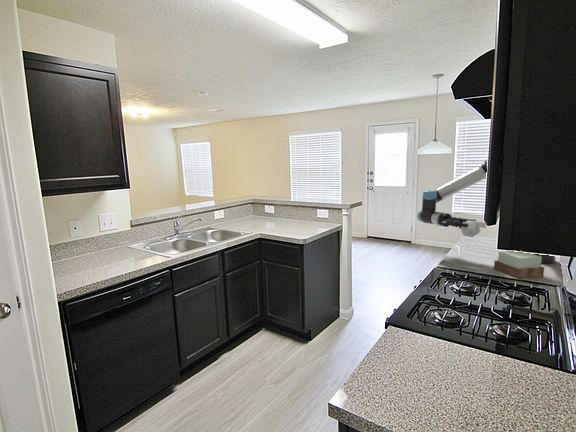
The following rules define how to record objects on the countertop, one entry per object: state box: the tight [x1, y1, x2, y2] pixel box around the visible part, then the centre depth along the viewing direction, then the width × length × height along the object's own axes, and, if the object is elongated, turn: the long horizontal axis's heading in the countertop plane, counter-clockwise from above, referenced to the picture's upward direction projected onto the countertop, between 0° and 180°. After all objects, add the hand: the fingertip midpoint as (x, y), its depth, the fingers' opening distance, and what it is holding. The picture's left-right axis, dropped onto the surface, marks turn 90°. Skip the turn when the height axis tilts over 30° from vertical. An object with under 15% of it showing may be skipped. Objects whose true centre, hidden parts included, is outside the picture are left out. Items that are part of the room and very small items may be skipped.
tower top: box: [497, 250, 542, 269], centre depth 157 cm, size 12×12×5 cm
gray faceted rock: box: [460, 221, 481, 238], centre depth 168 cm, size 8×9×10 cm
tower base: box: [493, 259, 545, 280], centre depth 158 cm, size 14×14×5 cm
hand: (480, 225), depth 164 cm, fingers closed on gray faceted rock, 8 cm apart
